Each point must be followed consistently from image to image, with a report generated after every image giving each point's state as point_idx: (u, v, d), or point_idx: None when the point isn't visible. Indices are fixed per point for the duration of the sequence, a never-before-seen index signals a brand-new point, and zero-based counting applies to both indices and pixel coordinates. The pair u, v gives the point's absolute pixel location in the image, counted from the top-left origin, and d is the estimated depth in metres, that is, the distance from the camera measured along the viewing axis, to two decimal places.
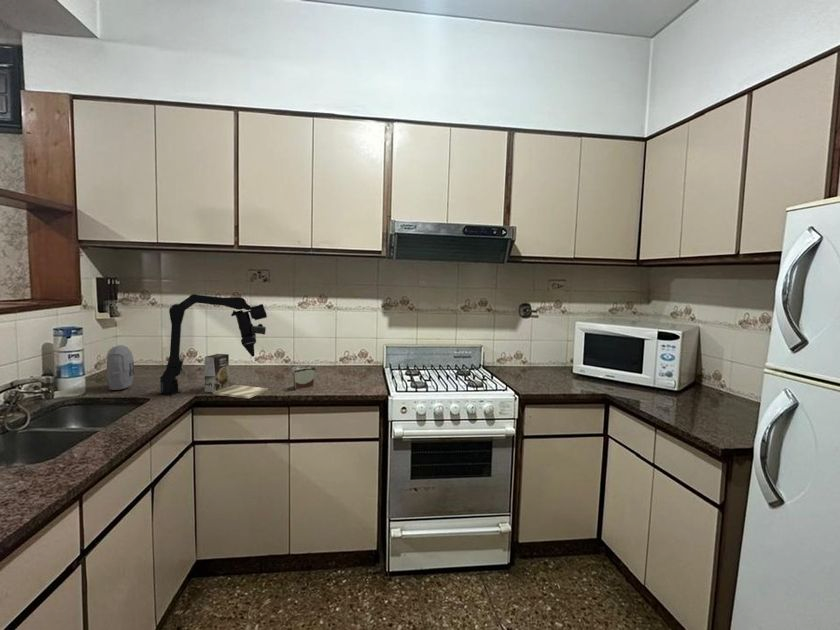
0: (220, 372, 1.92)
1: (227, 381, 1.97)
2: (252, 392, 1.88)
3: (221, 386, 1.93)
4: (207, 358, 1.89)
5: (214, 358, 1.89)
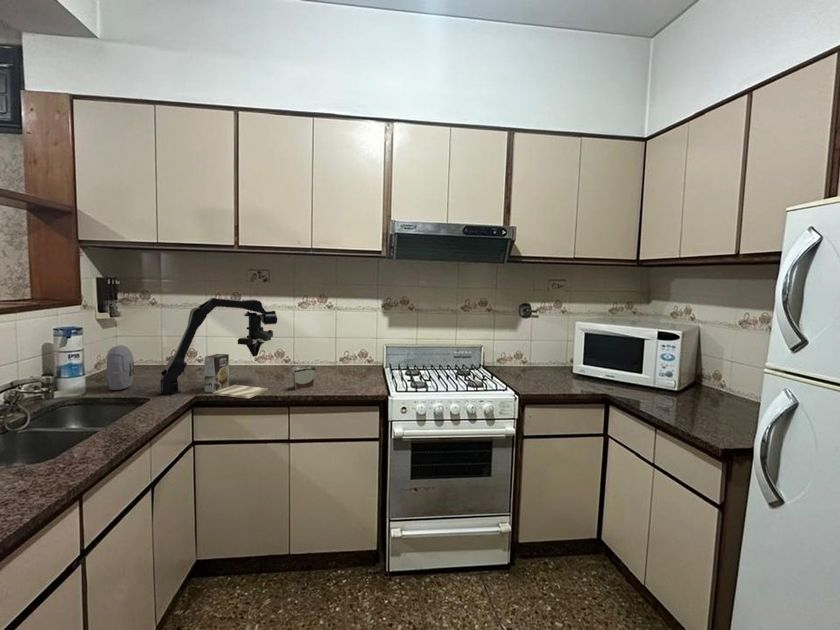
0: (220, 372, 1.92)
1: (227, 381, 1.97)
2: (252, 392, 1.88)
3: (221, 386, 1.93)
4: (207, 358, 1.89)
5: (214, 358, 1.89)
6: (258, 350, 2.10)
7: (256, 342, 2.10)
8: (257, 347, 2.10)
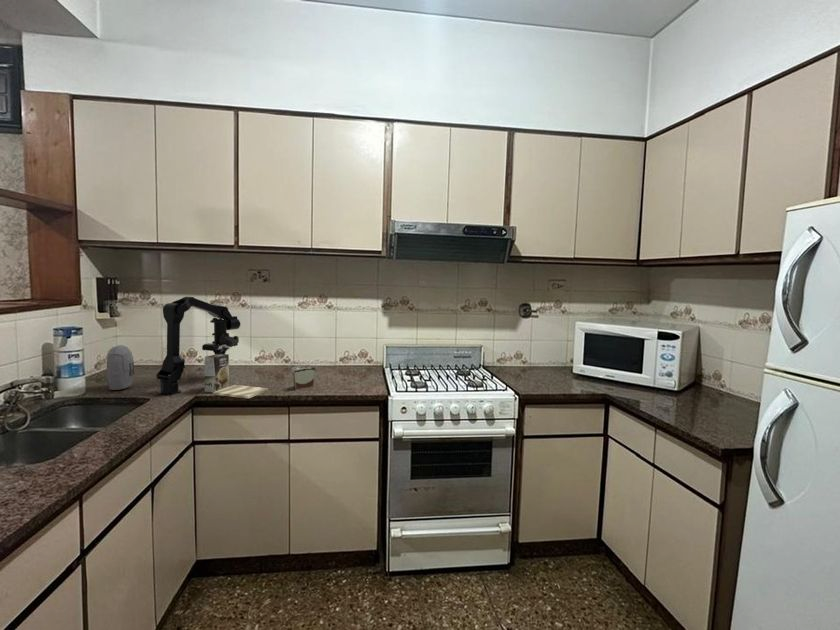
0: (221, 372, 1.92)
1: (227, 381, 1.97)
2: (252, 392, 1.88)
3: (221, 386, 1.93)
4: (207, 358, 1.89)
5: (214, 358, 1.89)
6: None
7: None
8: (222, 353, 2.12)
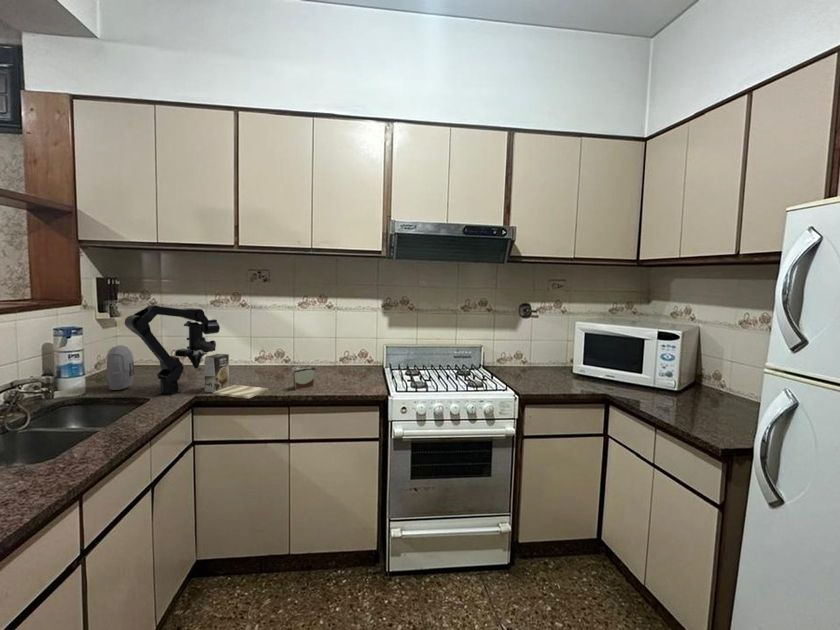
0: (221, 372, 1.92)
1: (227, 381, 1.97)
2: (252, 392, 1.88)
3: (221, 386, 1.93)
4: (207, 358, 1.89)
5: (214, 358, 1.89)
6: (199, 362, 1.97)
7: None
8: (198, 359, 1.97)
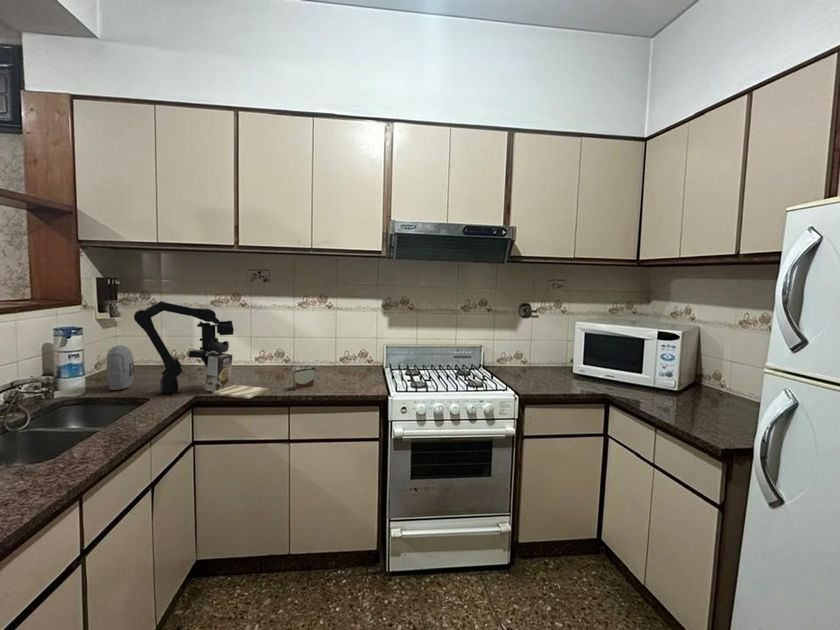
0: (223, 372, 1.92)
1: (228, 381, 1.97)
2: (252, 392, 1.88)
3: (221, 386, 1.93)
4: (211, 357, 1.89)
5: (218, 358, 1.88)
6: None
7: (210, 354, 1.95)
8: None
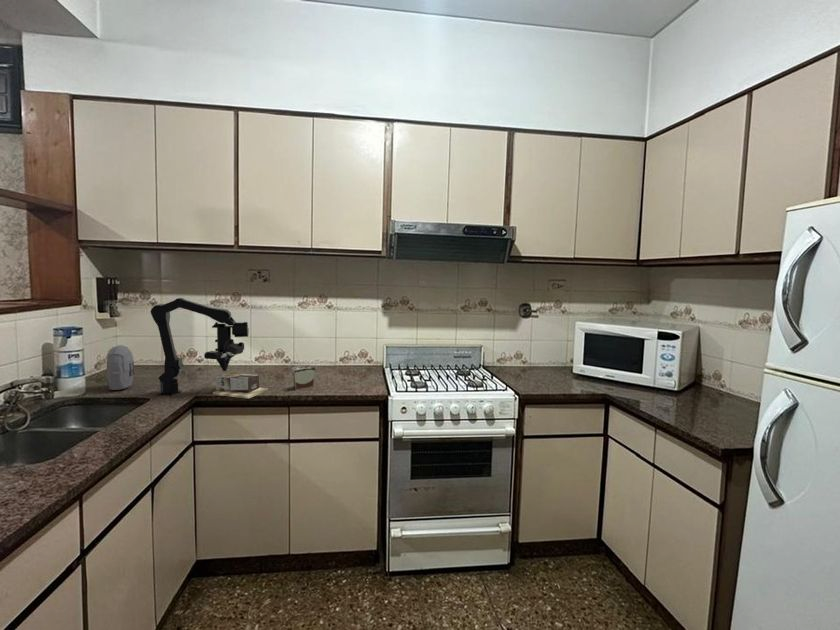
0: None
1: None
2: (252, 392, 1.88)
3: None
4: (246, 382, 1.87)
5: (247, 390, 1.87)
6: (227, 364, 1.93)
7: None
8: (226, 361, 1.93)
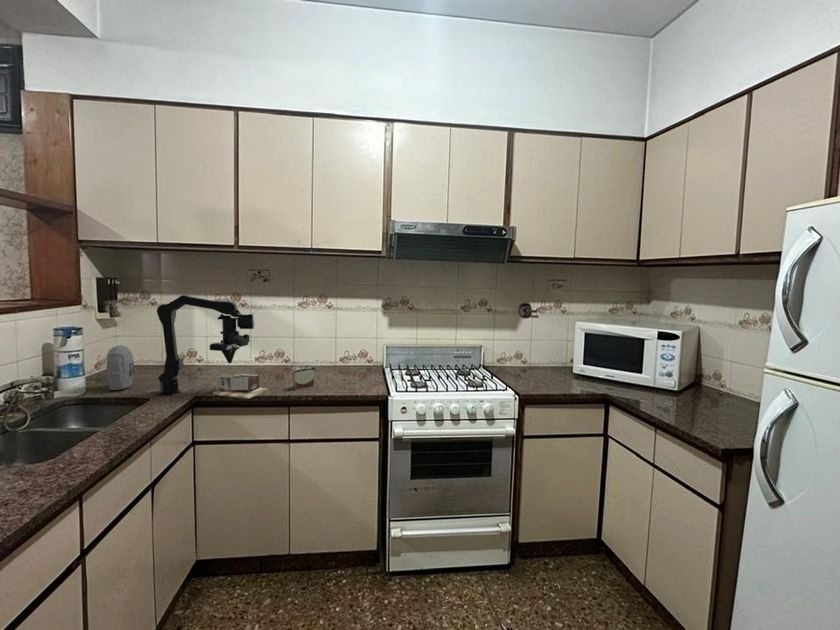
0: None
1: None
2: (252, 392, 1.88)
3: None
4: (246, 382, 1.87)
5: (247, 390, 1.87)
6: (232, 356, 1.92)
7: None
8: None
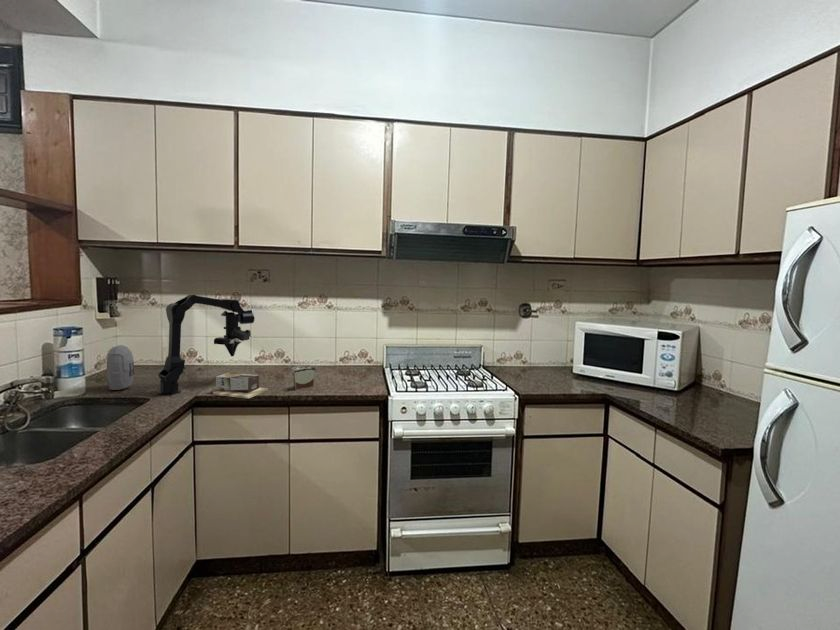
0: None
1: None
2: (252, 392, 1.88)
3: None
4: (246, 382, 1.87)
5: (247, 390, 1.87)
6: (235, 350, 2.08)
7: None
8: None
